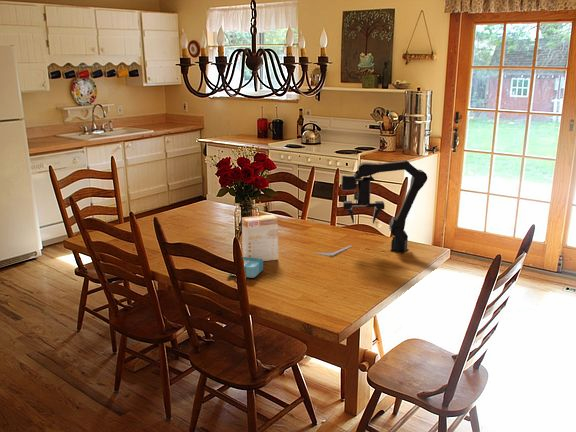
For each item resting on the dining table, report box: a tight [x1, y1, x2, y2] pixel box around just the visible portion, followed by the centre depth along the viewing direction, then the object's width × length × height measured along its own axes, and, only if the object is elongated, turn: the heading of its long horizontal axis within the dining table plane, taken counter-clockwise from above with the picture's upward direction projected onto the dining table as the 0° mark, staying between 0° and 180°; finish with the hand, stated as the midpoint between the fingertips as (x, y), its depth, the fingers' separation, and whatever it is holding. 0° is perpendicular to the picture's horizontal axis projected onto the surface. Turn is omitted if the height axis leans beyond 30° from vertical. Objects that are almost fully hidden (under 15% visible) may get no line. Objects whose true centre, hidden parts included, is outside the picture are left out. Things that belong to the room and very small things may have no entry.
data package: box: [228, 256, 264, 279], centre depth 223 cm, size 12×4×12 cm
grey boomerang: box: [313, 245, 353, 258], centre depth 254 cm, size 14×18×1 cm
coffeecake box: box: [241, 214, 279, 262], centre depth 238 cm, size 15×7×20 cm, turn 111°
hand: (363, 223), depth 249 cm, fingers open, 9 cm apart
